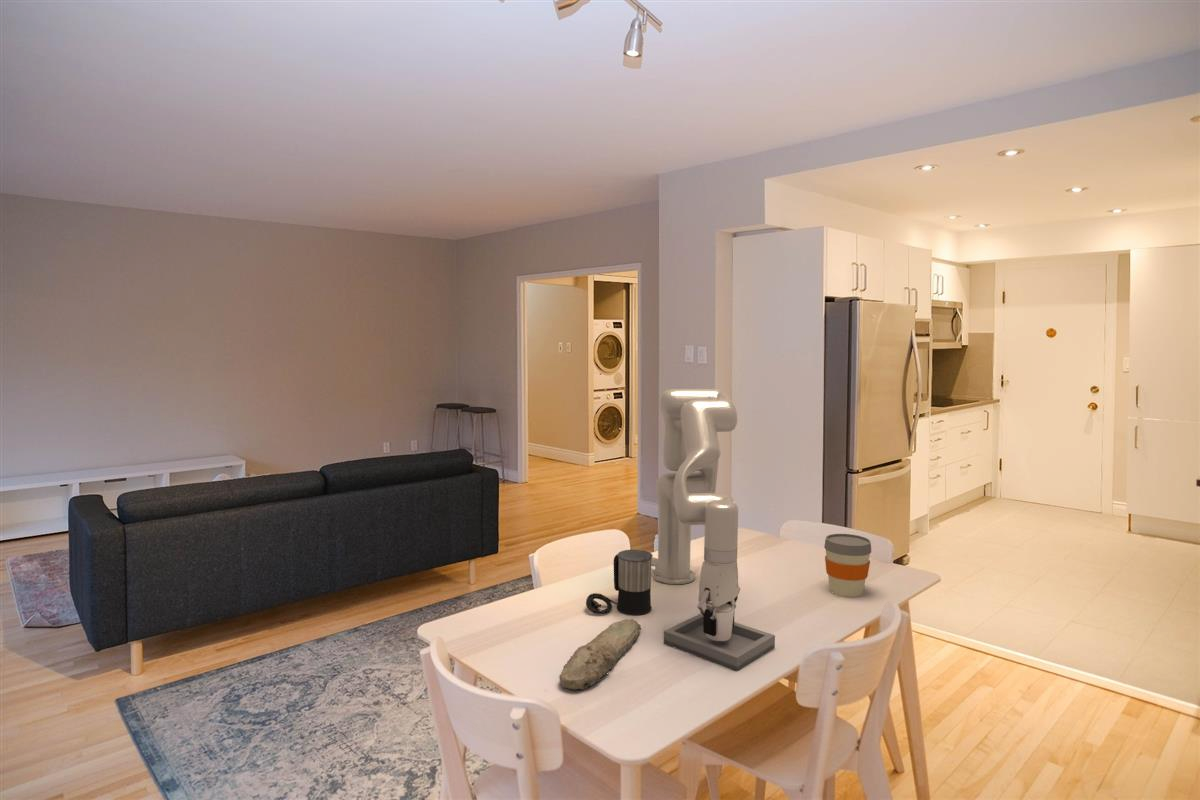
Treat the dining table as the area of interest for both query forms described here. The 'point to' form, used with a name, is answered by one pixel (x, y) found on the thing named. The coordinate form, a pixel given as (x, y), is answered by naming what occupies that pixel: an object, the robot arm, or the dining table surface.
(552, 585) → the dining table surface
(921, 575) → the dining table surface
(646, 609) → the milk frother
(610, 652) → the elongated rock
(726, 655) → the serving tray
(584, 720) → the dining table surface
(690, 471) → the robot arm
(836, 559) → the reusable coffee cup
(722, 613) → the white cup
